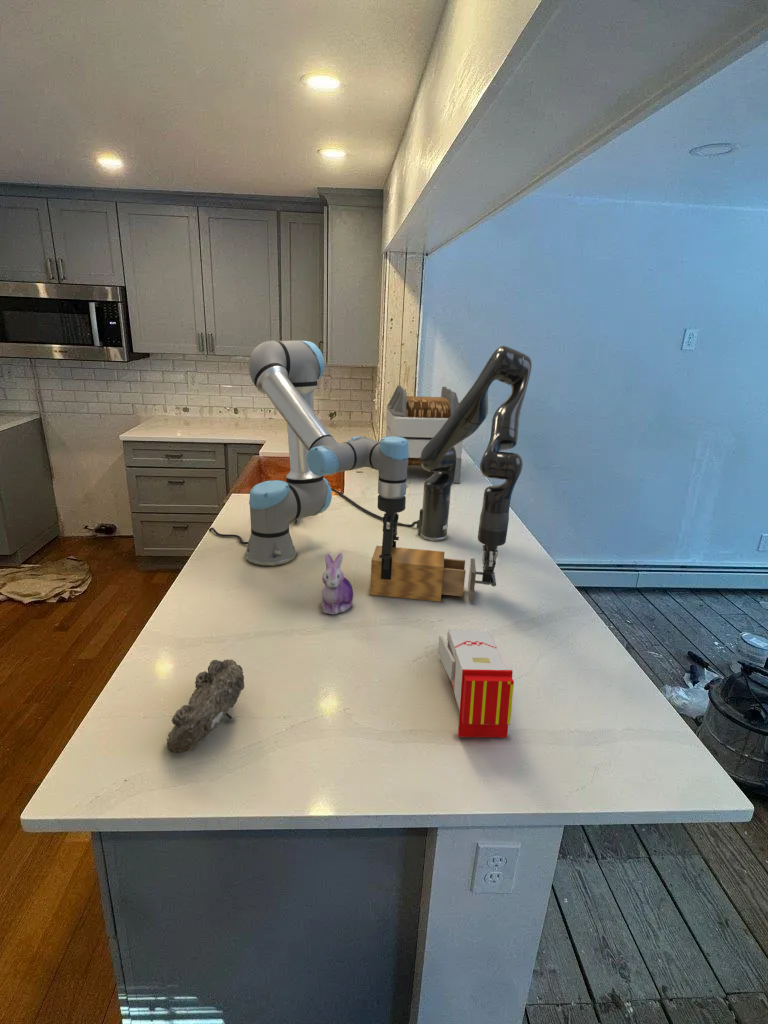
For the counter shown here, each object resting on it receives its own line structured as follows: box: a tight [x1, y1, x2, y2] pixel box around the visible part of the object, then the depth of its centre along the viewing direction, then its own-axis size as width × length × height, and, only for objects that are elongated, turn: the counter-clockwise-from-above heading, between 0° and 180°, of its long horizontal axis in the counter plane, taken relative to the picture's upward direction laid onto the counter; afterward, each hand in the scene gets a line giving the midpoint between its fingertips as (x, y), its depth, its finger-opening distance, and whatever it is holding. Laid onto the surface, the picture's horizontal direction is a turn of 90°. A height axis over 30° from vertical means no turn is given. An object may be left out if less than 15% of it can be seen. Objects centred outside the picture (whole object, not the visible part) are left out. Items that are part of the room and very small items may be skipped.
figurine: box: [321, 552, 354, 615], centre depth 147 cm, size 9×10×15 cm
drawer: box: [441, 557, 497, 601], centre depth 158 cm, size 24×9×8 cm, turn 83°
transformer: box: [385, 384, 464, 484], centre depth 268 cm, size 34×33×41 cm
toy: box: [437, 628, 515, 738], centre depth 117 cm, size 12×13×30 cm
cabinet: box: [369, 545, 446, 603], centre depth 159 cm, size 20×10×10 cm, turn 83°
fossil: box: [166, 658, 245, 754], centre depth 106 cm, size 22×10×15 cm
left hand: (388, 570), depth 159 cm, fingers closed on cabinet, 10 cm apart
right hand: (485, 583), depth 157 cm, fingers closed
